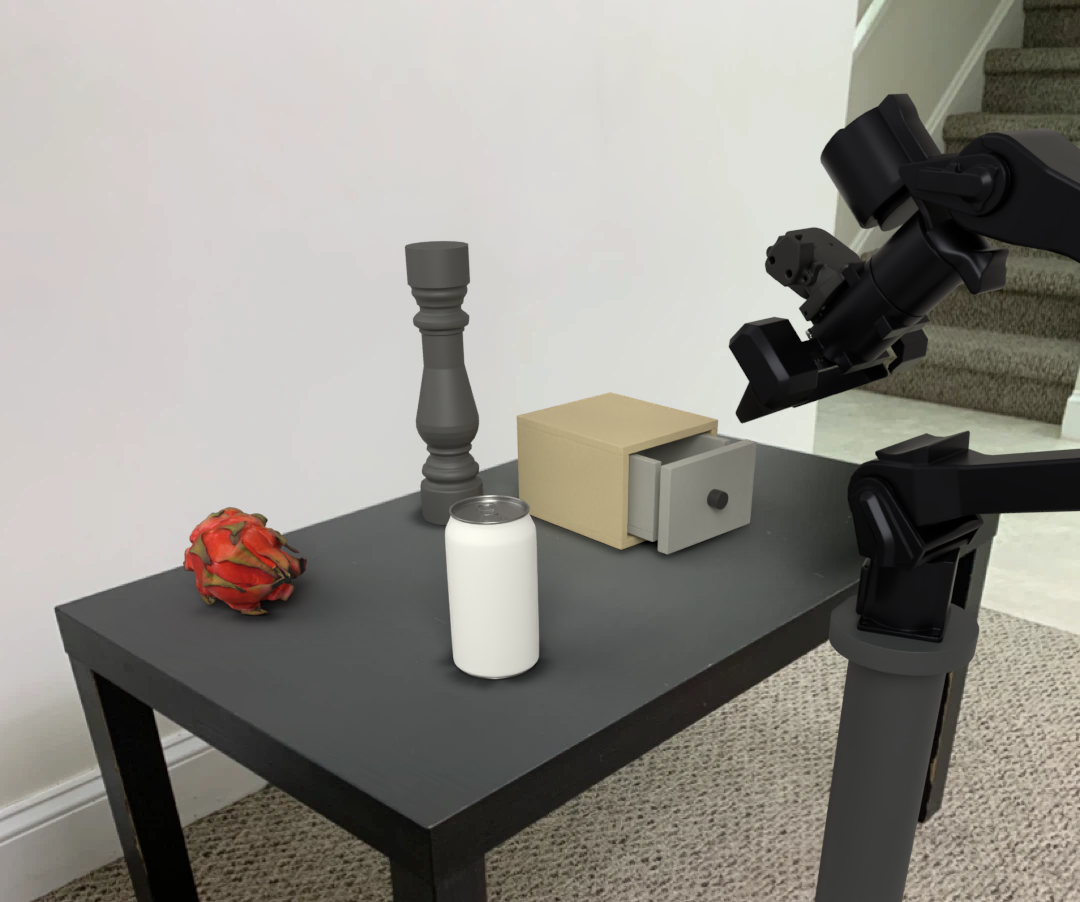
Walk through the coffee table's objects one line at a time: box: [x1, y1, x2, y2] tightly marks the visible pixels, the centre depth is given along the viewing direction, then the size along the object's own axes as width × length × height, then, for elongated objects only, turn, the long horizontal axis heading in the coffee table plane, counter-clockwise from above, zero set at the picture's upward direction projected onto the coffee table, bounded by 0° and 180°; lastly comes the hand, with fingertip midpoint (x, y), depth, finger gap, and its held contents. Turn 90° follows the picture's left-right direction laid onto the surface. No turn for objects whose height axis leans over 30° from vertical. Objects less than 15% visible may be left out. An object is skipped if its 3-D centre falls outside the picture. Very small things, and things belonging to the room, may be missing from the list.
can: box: [444, 494, 540, 681], centre depth 79 cm, size 6×6×12 cm
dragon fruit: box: [182, 506, 308, 616], centre depth 90 cm, size 8×8×12 cm
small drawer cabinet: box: [516, 391, 719, 551], centre depth 106 cm, size 15×13×10 cm
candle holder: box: [404, 240, 484, 527], centre depth 103 cm, size 6×6×25 cm
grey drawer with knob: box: [627, 433, 758, 555], centre depth 102 cm, size 15×11×8 cm
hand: (765, 410), depth 90 cm, fingers open, 6 cm apart
